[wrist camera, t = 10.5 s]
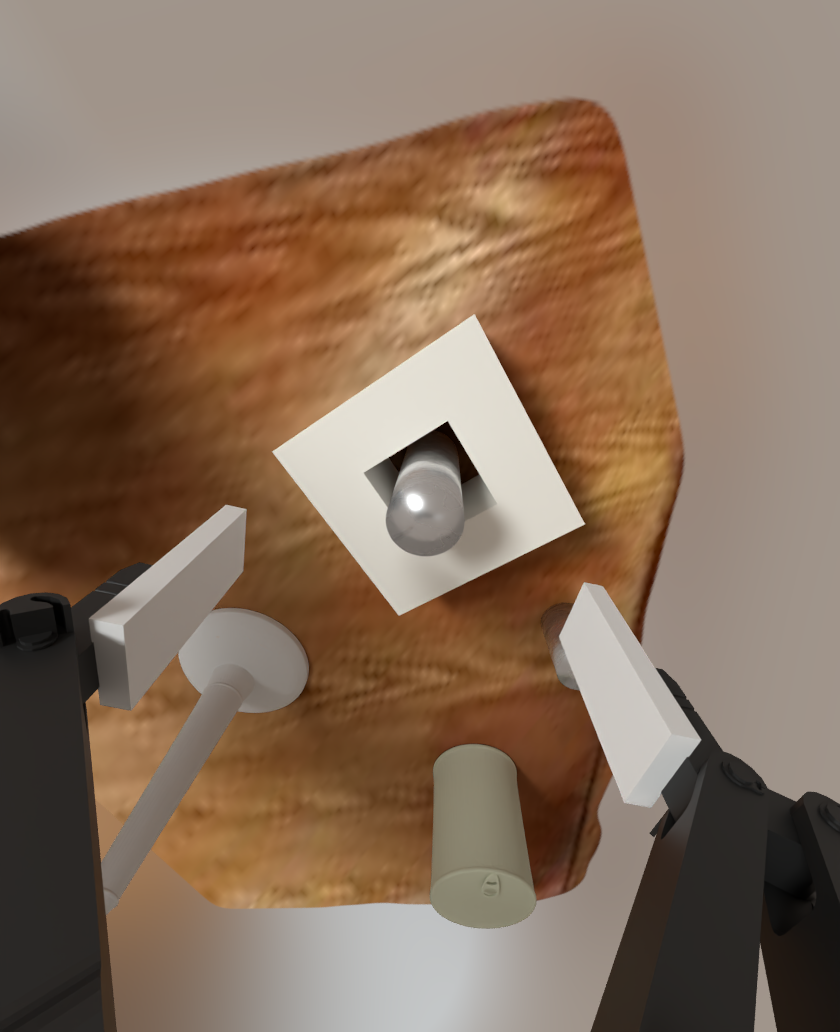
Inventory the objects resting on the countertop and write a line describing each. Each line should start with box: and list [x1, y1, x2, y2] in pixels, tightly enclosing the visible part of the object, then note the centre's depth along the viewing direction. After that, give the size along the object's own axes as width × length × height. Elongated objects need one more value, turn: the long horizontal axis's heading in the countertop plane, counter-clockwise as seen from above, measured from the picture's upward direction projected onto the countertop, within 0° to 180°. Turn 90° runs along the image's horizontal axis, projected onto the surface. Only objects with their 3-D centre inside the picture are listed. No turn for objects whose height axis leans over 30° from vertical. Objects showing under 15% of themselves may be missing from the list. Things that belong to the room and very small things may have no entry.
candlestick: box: [101, 608, 309, 915], centre depth 28 cm, size 13×13×30 cm
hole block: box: [272, 314, 585, 615], centre depth 29 cm, size 14×14×7 cm
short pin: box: [541, 603, 580, 690], centre depth 35 cm, size 4×4×6 cm
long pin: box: [386, 431, 465, 556], centre depth 27 cm, size 4×4×12 cm
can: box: [430, 744, 536, 929], centre depth 41 cm, size 9×9×12 cm
